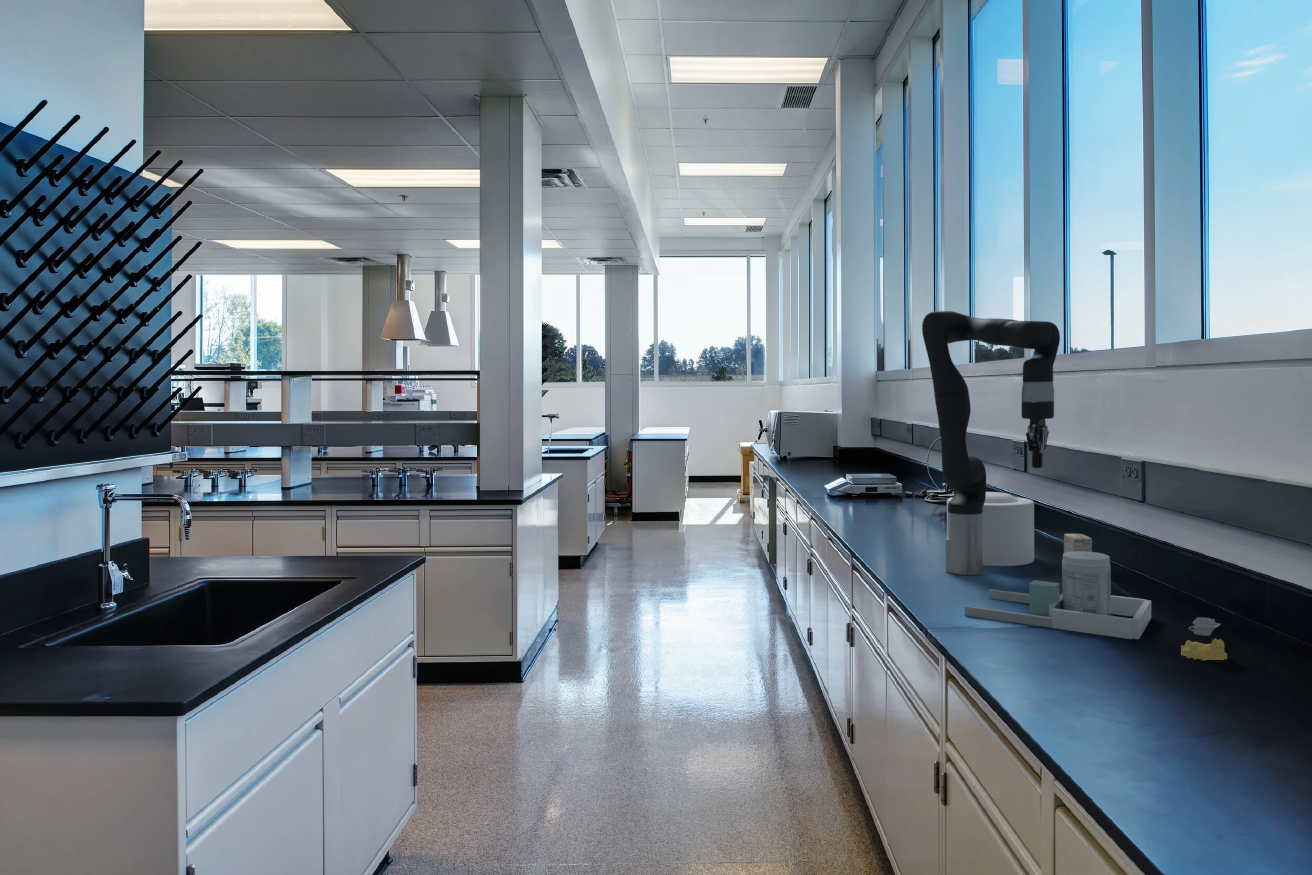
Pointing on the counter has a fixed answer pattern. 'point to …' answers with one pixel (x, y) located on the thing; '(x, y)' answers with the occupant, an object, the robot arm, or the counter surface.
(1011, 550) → the container
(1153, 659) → the counter surface
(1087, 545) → the supplement box
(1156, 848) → the counter surface
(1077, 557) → the supplement tub
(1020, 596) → the guide rails
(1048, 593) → the scraper sled
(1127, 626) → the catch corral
